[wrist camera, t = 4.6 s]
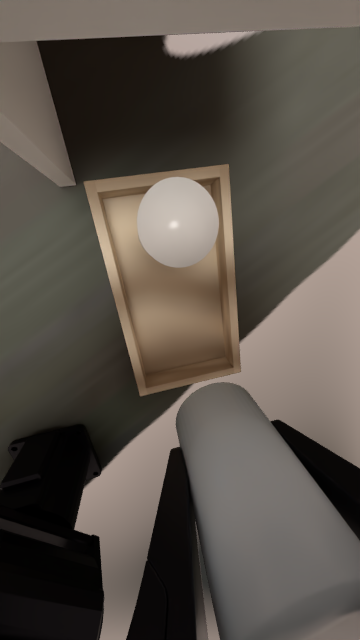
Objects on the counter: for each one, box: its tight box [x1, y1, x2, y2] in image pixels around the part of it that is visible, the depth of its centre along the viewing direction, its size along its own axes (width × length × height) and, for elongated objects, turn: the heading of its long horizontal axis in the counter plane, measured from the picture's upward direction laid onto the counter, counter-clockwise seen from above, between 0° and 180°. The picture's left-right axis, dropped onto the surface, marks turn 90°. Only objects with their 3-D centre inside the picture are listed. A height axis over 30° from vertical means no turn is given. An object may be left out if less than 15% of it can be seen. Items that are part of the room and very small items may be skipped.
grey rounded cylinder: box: [176, 382, 360, 640], centre depth 7 cm, size 4×4×6 cm
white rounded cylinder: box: [137, 177, 219, 268], centre depth 13 cm, size 4×4×6 cm
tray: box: [84, 164, 241, 396], centre depth 16 cm, size 15×9×2 cm, turn 9°
